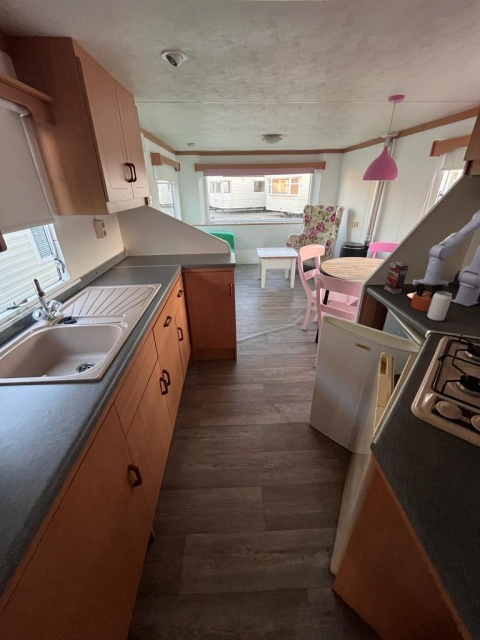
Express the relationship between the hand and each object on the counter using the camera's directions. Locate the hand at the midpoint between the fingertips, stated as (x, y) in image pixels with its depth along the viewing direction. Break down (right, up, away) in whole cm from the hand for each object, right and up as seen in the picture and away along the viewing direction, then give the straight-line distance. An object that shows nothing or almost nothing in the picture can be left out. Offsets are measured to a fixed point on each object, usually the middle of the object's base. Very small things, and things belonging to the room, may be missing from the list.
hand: (425, 299), depth 128 cm
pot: (0, -4, +2) cm, 4 cm away
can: (-2, -9, -9) cm, 13 cm away
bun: (0, -1, +1) cm, 1 cm away
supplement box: (-3, +6, +23) cm, 24 cm away
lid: (+5, +2, +12) cm, 13 cm away
